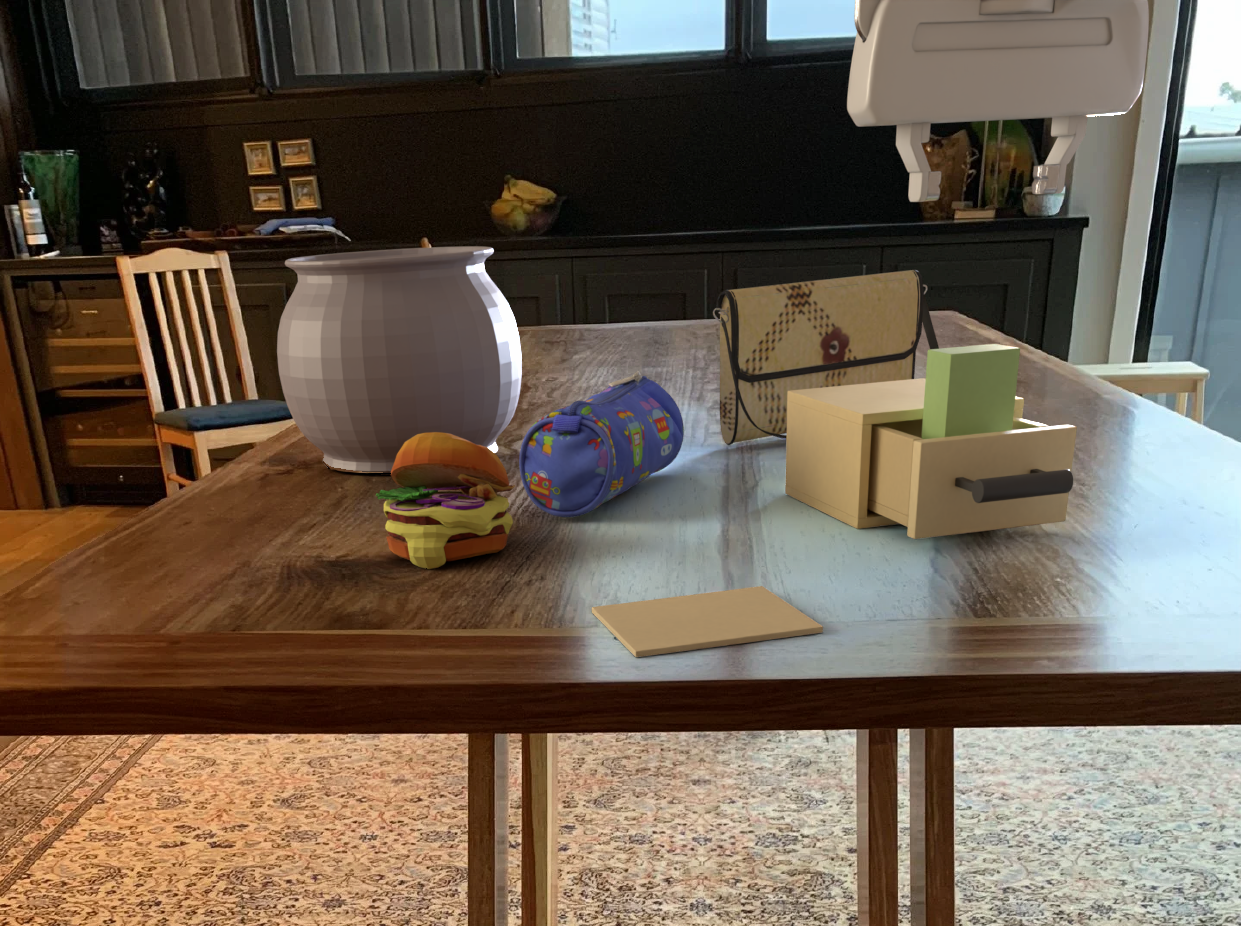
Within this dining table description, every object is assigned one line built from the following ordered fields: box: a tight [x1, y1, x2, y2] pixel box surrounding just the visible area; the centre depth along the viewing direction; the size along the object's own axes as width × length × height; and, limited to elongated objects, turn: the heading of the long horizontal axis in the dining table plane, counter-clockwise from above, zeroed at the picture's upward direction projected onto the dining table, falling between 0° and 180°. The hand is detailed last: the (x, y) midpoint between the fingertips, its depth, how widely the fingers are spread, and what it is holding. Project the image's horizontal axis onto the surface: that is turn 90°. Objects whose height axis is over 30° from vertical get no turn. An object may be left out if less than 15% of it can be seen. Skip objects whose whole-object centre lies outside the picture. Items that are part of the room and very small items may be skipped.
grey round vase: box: [276, 245, 523, 473], centre depth 135 cm, size 25×25×20 cm
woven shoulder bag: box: [712, 268, 940, 446], centre depth 138 cm, size 30×7×15 cm, turn 123°
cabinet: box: [784, 377, 1025, 530], centre depth 108 cm, size 15×14×9 cm
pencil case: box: [518, 370, 685, 518], centre depth 116 cm, size 22×9×10 cm, turn 159°
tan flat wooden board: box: [591, 585, 824, 658], centre depth 83 cm, size 12×10×1 cm
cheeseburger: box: [375, 432, 516, 570], centre depth 101 cm, size 10×11×10 cm
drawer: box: [867, 417, 1078, 540], centre depth 99 cm, size 18×12×7 cm
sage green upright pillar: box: [922, 343, 1021, 439], centre depth 98 cm, size 6×4×11 cm, turn 105°
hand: (985, 197), depth 90 cm, fingers open, 8 cm apart
